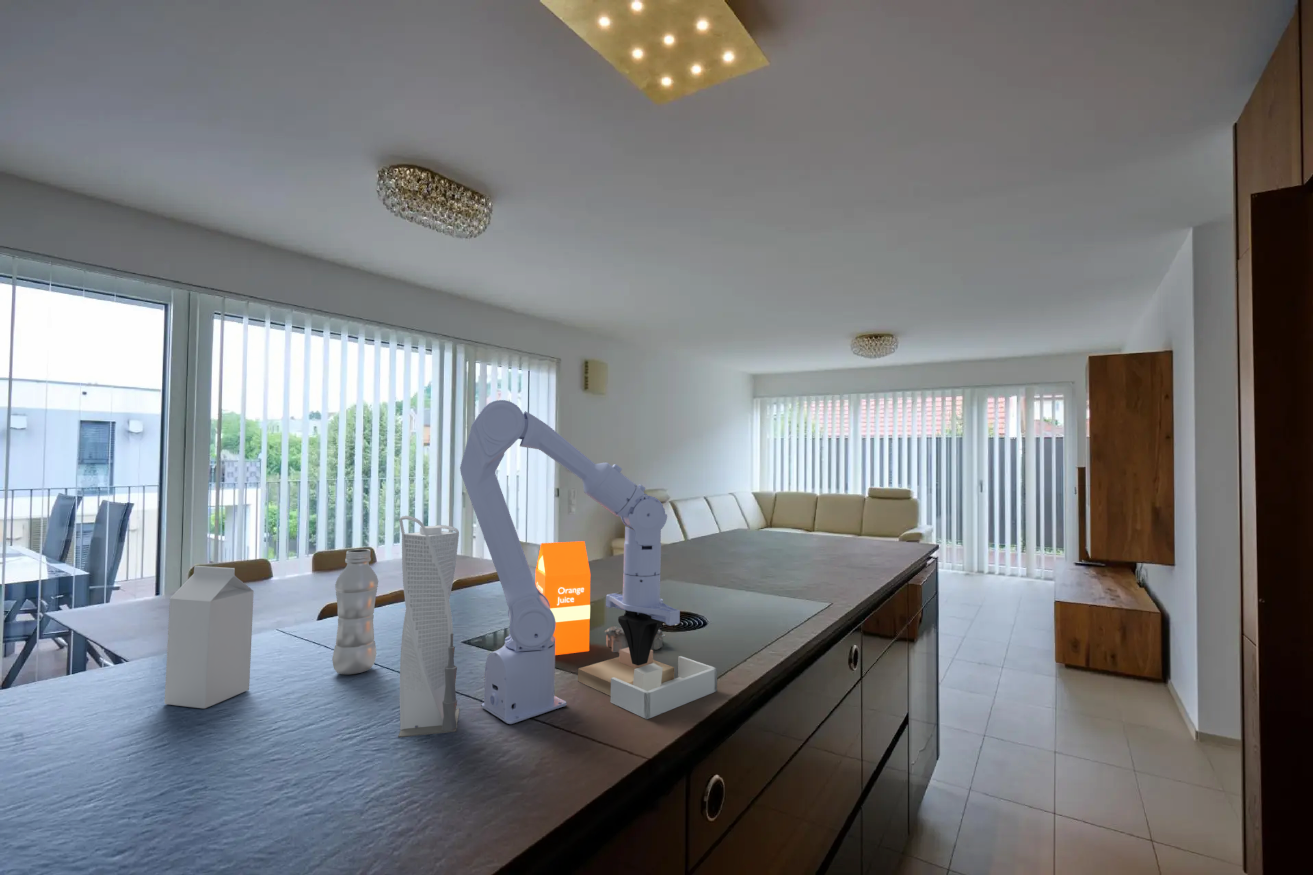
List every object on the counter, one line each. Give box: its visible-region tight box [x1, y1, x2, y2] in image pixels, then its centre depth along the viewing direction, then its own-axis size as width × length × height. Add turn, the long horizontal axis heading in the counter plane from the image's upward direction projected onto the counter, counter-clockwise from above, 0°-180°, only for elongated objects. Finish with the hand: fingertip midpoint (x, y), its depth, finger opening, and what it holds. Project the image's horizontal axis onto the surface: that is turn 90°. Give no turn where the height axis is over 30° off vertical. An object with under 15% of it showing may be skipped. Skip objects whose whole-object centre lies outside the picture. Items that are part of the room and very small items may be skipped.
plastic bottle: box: [331, 548, 379, 675], centre depth 97 cm, size 6×7×20 cm
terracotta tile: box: [618, 647, 654, 668], centre depth 98 cm, size 4×4×2 cm
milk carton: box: [164, 565, 255, 709], centre depth 86 cm, size 7×7×19 cm
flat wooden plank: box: [577, 656, 675, 697], centre depth 95 cm, size 12×10×2 cm
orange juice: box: [534, 540, 591, 656], centre depth 112 cm, size 8×9×20 cm
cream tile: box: [633, 663, 663, 691], centre depth 88 cm, size 4×4×2 cm
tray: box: [610, 655, 718, 720], centre depth 89 cm, size 15×8×4 cm, turn 134°
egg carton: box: [604, 625, 666, 654], centre depth 113 cm, size 11×8×4 cm
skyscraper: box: [397, 515, 460, 738], centre depth 80 cm, size 8×8×28 cm
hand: (639, 663), depth 89 cm, fingers closed
